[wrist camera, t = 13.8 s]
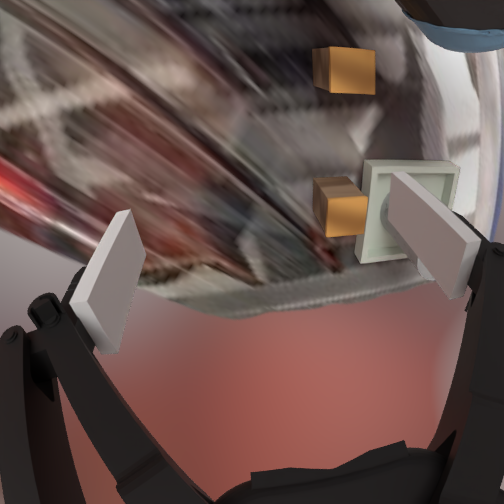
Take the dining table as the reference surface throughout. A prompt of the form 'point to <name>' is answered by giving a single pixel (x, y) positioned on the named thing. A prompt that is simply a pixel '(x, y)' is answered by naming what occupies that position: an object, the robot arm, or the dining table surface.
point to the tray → (378, 186)
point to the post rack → (342, 188)
